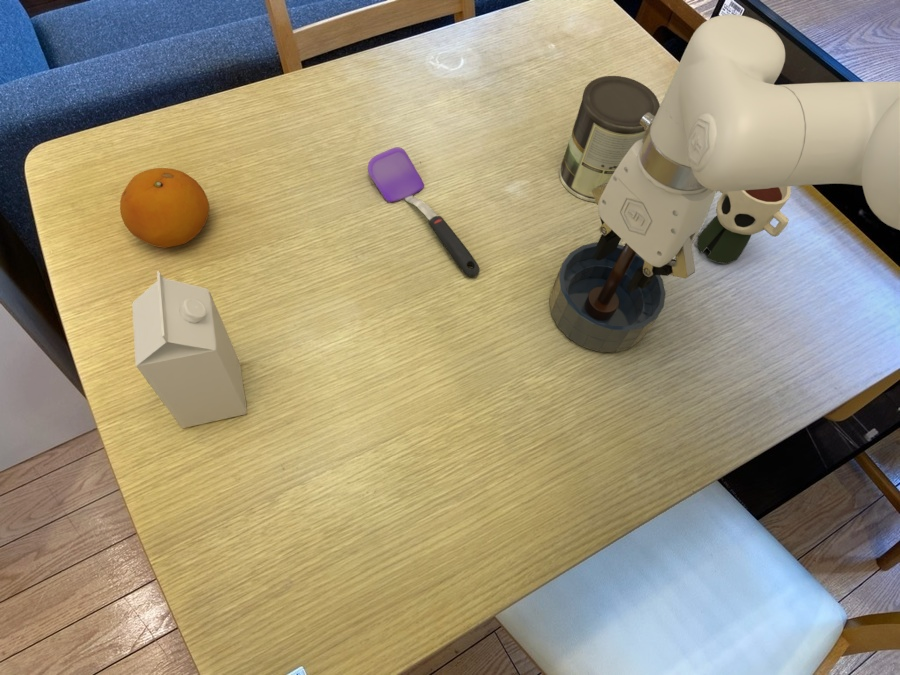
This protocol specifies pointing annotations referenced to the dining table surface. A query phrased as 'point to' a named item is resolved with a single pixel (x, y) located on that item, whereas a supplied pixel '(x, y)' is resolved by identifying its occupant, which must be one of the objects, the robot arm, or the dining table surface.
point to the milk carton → (187, 353)
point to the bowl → (629, 317)
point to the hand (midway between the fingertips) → (620, 269)
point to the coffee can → (604, 132)
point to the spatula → (416, 201)
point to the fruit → (164, 207)
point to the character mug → (742, 221)
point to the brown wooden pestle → (609, 288)
